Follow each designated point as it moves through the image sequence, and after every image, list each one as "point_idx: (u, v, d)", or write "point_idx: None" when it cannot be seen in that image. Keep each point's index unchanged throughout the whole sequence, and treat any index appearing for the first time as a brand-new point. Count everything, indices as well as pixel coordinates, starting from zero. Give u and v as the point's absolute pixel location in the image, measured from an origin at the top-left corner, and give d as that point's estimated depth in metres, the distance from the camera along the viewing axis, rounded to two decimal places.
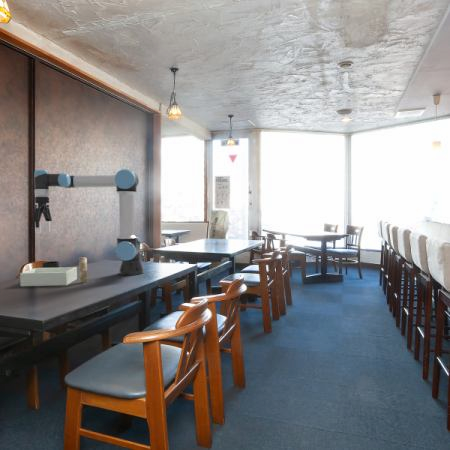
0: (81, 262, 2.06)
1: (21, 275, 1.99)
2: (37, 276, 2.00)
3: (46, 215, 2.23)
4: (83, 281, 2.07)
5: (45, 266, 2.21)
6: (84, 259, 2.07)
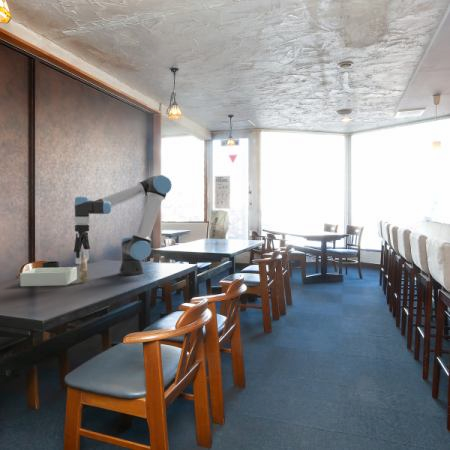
0: (81, 262, 2.06)
1: (21, 275, 1.99)
2: (37, 276, 2.00)
3: (85, 243, 2.12)
4: (83, 281, 2.07)
5: (45, 266, 2.21)
6: (84, 259, 2.07)
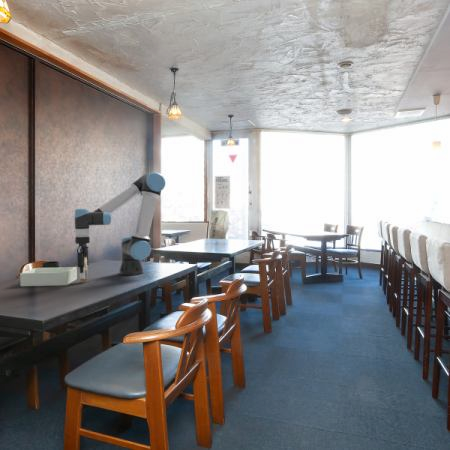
0: None
1: (21, 275, 1.99)
2: (37, 276, 2.00)
3: None
4: (83, 281, 2.07)
5: (45, 266, 2.21)
6: (84, 259, 2.07)
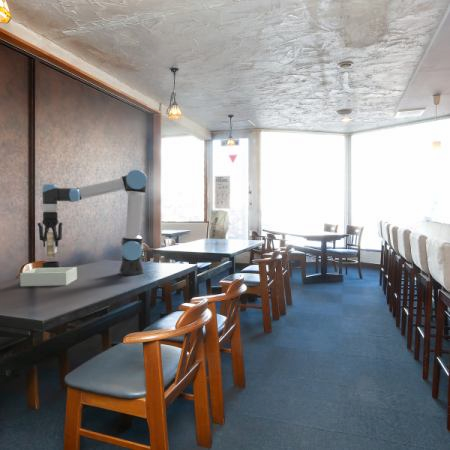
0: None
1: (21, 275, 1.99)
2: (37, 276, 2.00)
3: None
4: (47, 255, 2.11)
5: (45, 266, 2.21)
6: (47, 234, 2.10)
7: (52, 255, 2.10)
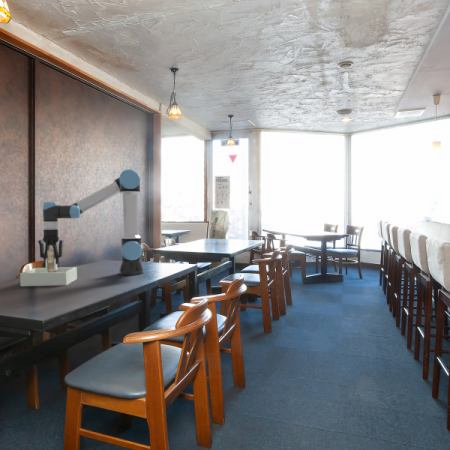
0: None
1: (21, 275, 1.99)
2: (37, 276, 2.00)
3: None
4: None
5: (45, 266, 2.21)
6: (47, 251, 2.10)
7: None
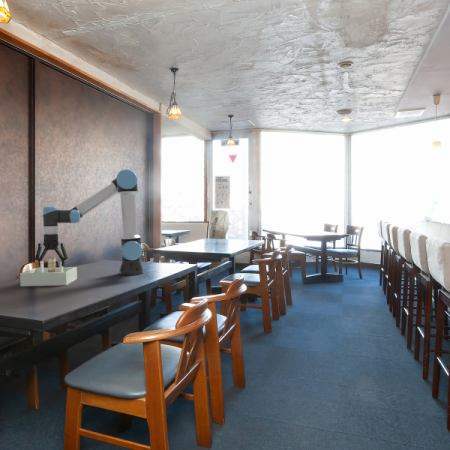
0: None
1: (21, 275, 1.99)
2: (37, 276, 2.00)
3: None
4: None
5: (45, 266, 2.21)
6: (48, 258, 2.10)
7: None
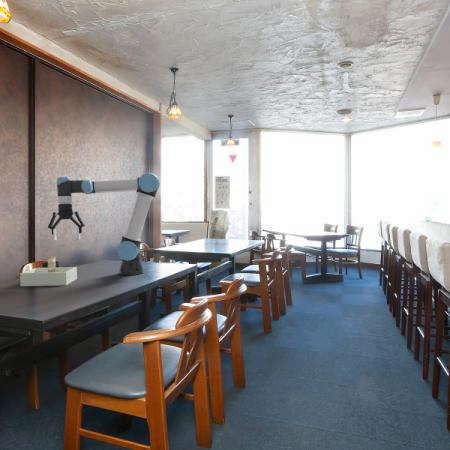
0: None
1: (21, 275, 1.99)
2: (37, 276, 2.00)
3: None
4: None
5: (45, 266, 2.21)
6: (48, 258, 2.10)
7: None
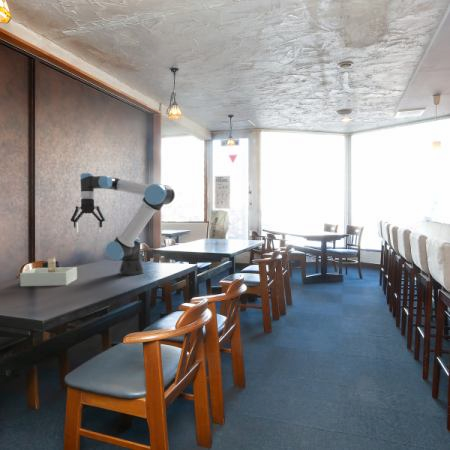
0: None
1: (21, 275, 1.99)
2: (37, 276, 2.00)
3: None
4: None
5: (45, 266, 2.21)
6: (48, 258, 2.10)
7: None
